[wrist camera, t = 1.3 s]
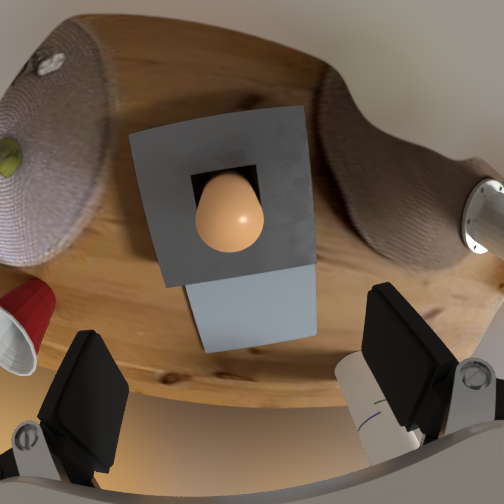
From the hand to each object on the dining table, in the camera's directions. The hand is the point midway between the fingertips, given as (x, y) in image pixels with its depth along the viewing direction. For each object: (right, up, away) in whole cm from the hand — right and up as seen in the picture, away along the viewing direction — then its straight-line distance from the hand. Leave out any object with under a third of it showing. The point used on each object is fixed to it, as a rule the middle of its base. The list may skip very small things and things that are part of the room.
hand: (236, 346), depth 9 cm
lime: (-29, +16, +17) cm, 37 cm away
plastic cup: (-31, -3, +25) cm, 40 cm away
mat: (+1, -4, +29) cm, 29 cm away
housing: (-2, +10, +22) cm, 24 cm away
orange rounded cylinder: (-2, +10, +22) cm, 24 cm away
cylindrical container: (+18, -16, +36) cm, 43 cm away
